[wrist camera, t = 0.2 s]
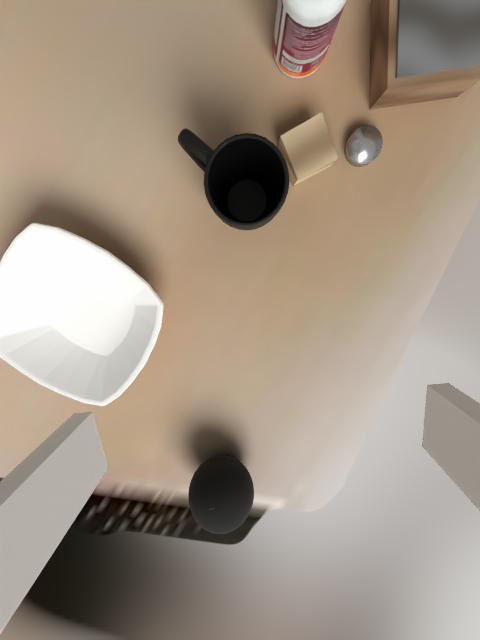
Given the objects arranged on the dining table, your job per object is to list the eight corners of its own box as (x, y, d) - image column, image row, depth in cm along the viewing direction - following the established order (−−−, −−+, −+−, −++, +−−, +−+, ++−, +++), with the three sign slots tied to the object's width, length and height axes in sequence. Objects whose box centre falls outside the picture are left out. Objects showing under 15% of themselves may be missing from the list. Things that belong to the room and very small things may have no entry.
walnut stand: (371, 3, 28) (392, -41, 24) (466, -13, 27) (505, -61, 23) (369, 109, 31) (388, 86, 26) (456, 96, 30) (490, 71, 26)
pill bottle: (334, 61, 29) (386, -53, 19) (286, 92, 30) (308, 2, 19) (312, 1, 28) (353, -158, 17) (262, 36, 29) (271, -94, 18)
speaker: (263, 476, 45) (267, 537, 35) (213, 496, 46) (204, 560, 37) (235, 432, 43) (232, 485, 33) (185, 455, 44) (167, 512, 34)
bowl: (55, 205, 35) (21, 197, 29) (192, 293, 37) (183, 299, 32) (1, 332, 40) (-35, 344, 34) (126, 402, 42) (109, 423, 37)
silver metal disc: (344, 132, 31) (348, 127, 30) (377, 127, 31) (382, 122, 30) (344, 168, 32) (348, 165, 31) (377, 164, 32) (382, 161, 31)
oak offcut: (277, 146, 32) (280, 135, 29) (315, 125, 31) (321, 112, 28) (293, 185, 33) (297, 179, 30) (330, 166, 32) (338, 157, 29)
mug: (217, 130, 32) (204, 80, 22) (291, 194, 33) (307, 172, 24) (180, 188, 33) (154, 164, 24) (251, 247, 35) (253, 244, 26)
